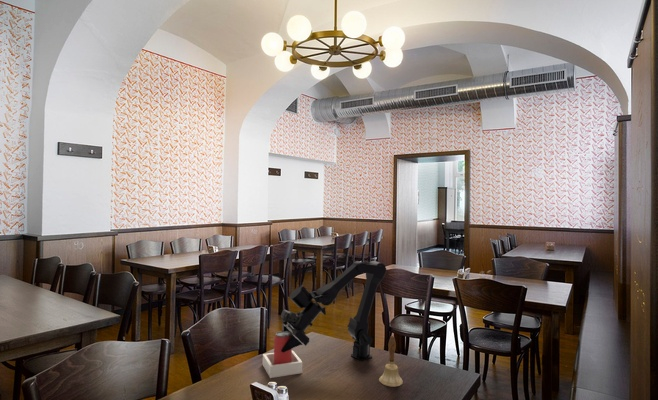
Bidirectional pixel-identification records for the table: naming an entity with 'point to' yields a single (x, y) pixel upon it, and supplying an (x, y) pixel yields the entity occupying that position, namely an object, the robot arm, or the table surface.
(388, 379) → the hand bell
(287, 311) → the robot arm
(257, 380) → the table surface
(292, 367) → the box
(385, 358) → the table surface
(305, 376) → the table surface
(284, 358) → the beer can
